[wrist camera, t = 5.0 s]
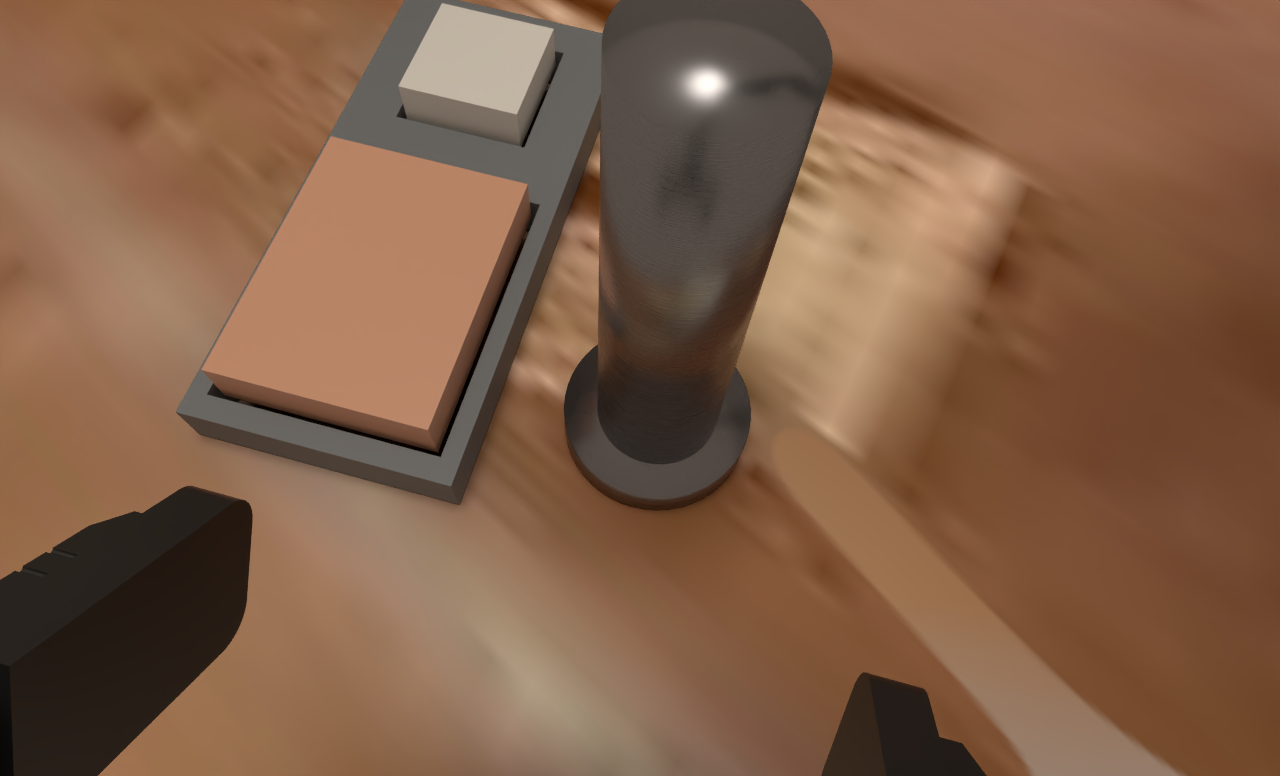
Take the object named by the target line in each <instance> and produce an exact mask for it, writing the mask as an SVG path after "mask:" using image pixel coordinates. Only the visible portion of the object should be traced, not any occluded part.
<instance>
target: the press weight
mask: <svg viewBox="0 0 1280 776" xmlns="http://www.w3.org/2000/svg"><path fill="white" fill-rule="evenodd" d="M832 64H833V62H832V50H831V46H830V41H829V39H828V36H827V34H826V31H825V29H824V28H823V26H822V24H821V23H820V21H819V20H818V18H817V17H816V16H815V15H814V13H813V12H812V11H811V10H810V9H809V8H808V7H807V6H806V5H805V4H804V3H803V2H802V1H801V0H620V1H619V2H618V3H617V5H616V6H615V7H614V9H613V10H612V12H611V13H610V15H609V17H608V19H607V21H606V24H605V27H604V30H603V35H602V46H601V134H600V221H599V309H598V345H597V346H595V347H594V348H593V349H592V350H591V351H590V352H589V353H588V354H586V355H585V357H584V358H583V359H582V360H581V362H580V363H579V364H578V366H577V367H576V369H575V371H574V372H573V374H572V376H571V379H570V381H569V384H568V387H567V391H566V395H565V403H564V415H565V430H566V438H567V443H568V447H569V450H570V453H571V455H572V458H573V460H574V462H575V464H576V465H577V467H578V468H579V470H580V471H581V473H582V474H583V476H584V477H585V478H586V479H587V480H588V481H589V482H590V483H591V484H592V485H593V486H594V487H595V488H597V489H598V490H599V491H600V492H602V493H603V494H605V495H606V496H608V497H609V498H611V499H613V500H615V501H617V502H620V503H622V504H625V505H628V506H631V507H635V508H640V509H647V510H669V509H674V508H680V507H683V506H686V505H690V504H692V503H695V502H697V501H699V500H701V499H703V498H705V497H706V496H708V495H709V494H711V493H712V492H713V491H715V490H716V489H717V488H718V487H719V486H720V485H721V484H722V483H723V482H724V481H725V480H726V479H727V478H728V476H729V475H730V473H731V472H732V470H733V469H734V467H735V465H736V463H737V461H738V459H739V457H740V454H741V452H742V450H743V447H744V445H745V443H746V440H747V436H748V433H749V428H750V421H751V408H750V401H749V396H748V392H747V389H746V386H745V384H744V381H743V379H742V377H741V375H740V374H739V372H738V370H737V369H736V367H735V366H736V363H737V360H738V357H739V354H740V351H741V347H742V344H743V341H744V338H745V335H746V332H747V329H748V326H749V323H750V320H751V317H752V314H753V311H754V308H755V305H756V302H757V299H758V296H759V293H760V290H761V287H762V284H763V280H764V277H765V274H766V271H767V268H768V265H769V262H770V259H771V256H772V253H773V250H774V247H775V244H776V241H777V238H778V235H779V232H780V229H781V226H782V223H783V220H784V216H785V213H786V210H787V207H788V204H789V201H790V198H791V195H792V192H793V189H794V186H795V183H796V180H797V177H798V174H799V171H800V168H801V165H802V162H803V159H804V156H805V153H806V149H807V146H808V143H809V140H810V137H811V134H812V131H813V128H814V125H815V122H816V119H817V116H818V113H819V110H820V107H821V104H822V101H823V98H824V95H825V92H826V89H827V85H828V82H829V79H830V76H831V71H832Z"/></svg>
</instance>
